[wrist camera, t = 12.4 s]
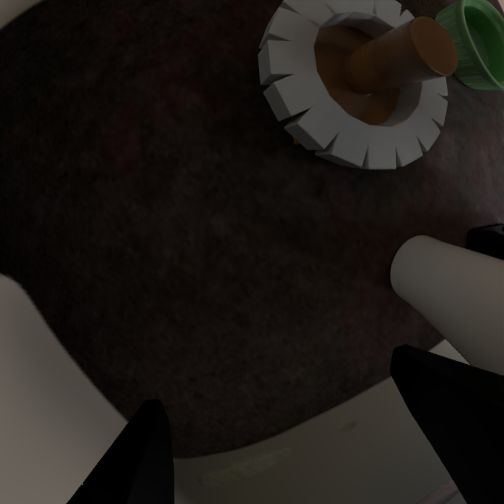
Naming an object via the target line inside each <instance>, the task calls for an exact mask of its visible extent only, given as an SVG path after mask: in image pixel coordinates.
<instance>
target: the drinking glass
mask: <svg viewBox="0 0 504 504" xmlns="http://www.w3.org/2000/svg"><path fill="white" fill-rule="evenodd" d="M390 280H391V285H392V287H393V290H394V291H395V293H396V294H397V295H398V296H399V297H400V298H401V299H403V300H404V301H405V302H407V303H408V304H409V305H411V306H412V307H413V308H414V309H415V310H416V311H417V312H418V313H419V314H420V315H421V316H423V317H424V318H425V319H426V320H427V321H428V322H429V323H430V324H431V325H432V326H433V327H434V328H435V329H436V330H437V331H438V332H439V333H440V334H441V335H442V336H443V337H444V338H445V339H446V340H447V341H448V342H449V343H450V344H451V345H452V346H453V347H454V348H455V349H456V350H457V351H458V352H459V353H460V354H461V355H462V356H463V357H464V359H465V360H466V361H467V362H468V363H469V364H470V365H471V366H474V367H478V368H481V369H484V370H487V371H491V372H494V373H497V374H499V375H504V260H501V259H498V258H495V257H492V256H488V255H485V254H482V253H479V252H475V251H472V250H469V249H465V248H462V247H459V246H456V245H452V244H449V243H446V242H442V241H440V240H437V239H435V238H432V237H430V236H426V235H419V236H415V237H412V238H410V239H409V240H407V241H406V242H405V243H404V244H403V245H402V246H401V247H400V248H399V250H398V251H397V253H396V255H395V257H394V259H393V262H392V265H391V271H390Z"/></svg>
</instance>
